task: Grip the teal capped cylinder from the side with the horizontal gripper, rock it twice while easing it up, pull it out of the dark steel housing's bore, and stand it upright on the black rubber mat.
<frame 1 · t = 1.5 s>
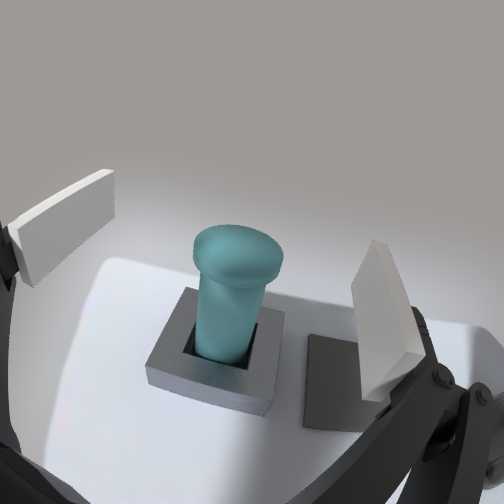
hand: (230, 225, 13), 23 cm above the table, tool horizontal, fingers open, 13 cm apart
teal capped cylinder: (226, 313, 29), in the housing
housing: (218, 357, 33), on the table
mat: (357, 385, 32), on the table
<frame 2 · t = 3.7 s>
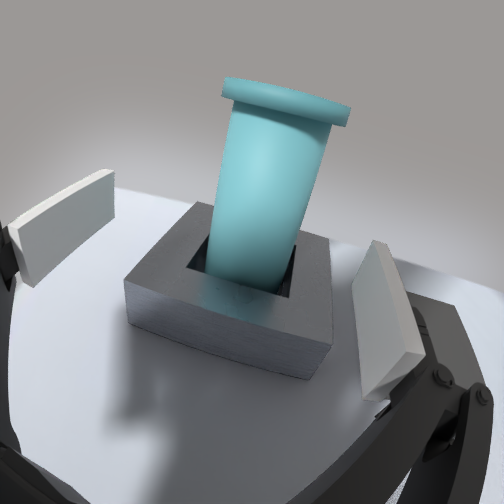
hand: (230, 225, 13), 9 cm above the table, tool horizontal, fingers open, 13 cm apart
teal capped cylinder: (259, 206, 19), in the housing
housing: (238, 294, 24), on the table
mat: (423, 342, 22), on the table
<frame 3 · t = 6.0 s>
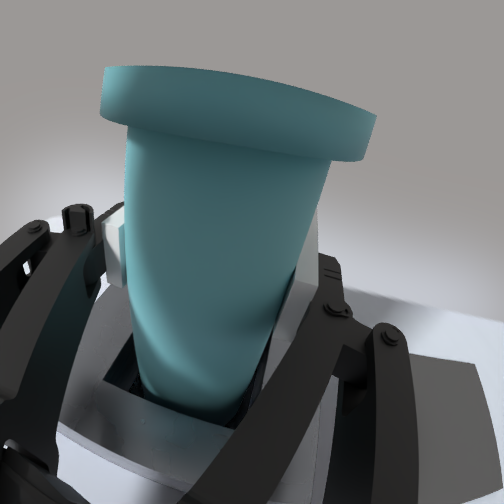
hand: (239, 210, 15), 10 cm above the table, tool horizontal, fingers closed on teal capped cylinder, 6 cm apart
teal capped cylinder: (203, 294, 11), in the housing, touching gripper
housing: (192, 389, 16), on the table
mat: (436, 428, 15), on the table
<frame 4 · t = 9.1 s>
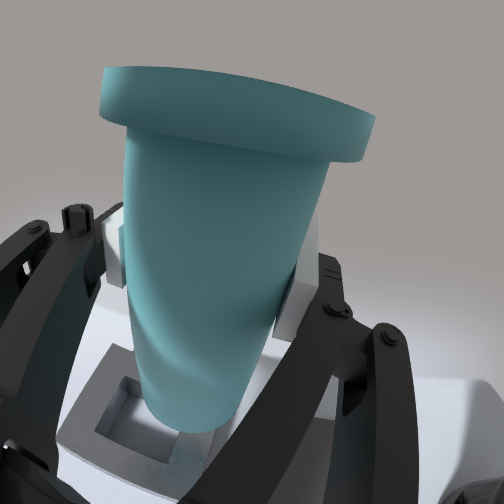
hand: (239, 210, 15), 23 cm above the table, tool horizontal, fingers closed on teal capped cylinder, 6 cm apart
teal capped cylinder: (202, 294, 11), point 22 cm above the table, touching gripper
housing: (146, 431, 23), on the table
mat: (316, 473, 22), on the table
when the fingers open (12 cm above the table, at t = 12.4 s): teal capped cylinder drops 1 cm, resting on mat.
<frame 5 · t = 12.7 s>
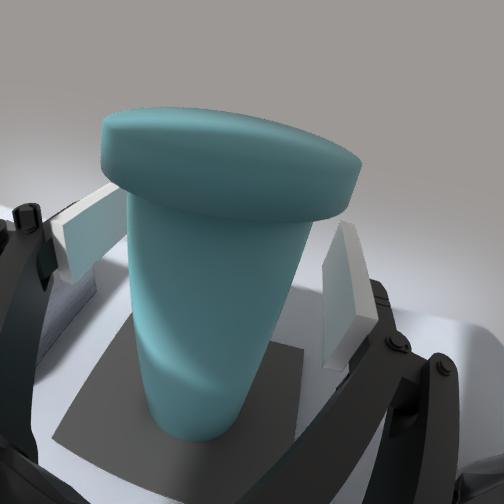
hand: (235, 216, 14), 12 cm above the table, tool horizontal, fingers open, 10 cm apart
teal capped cylinder: (202, 318, 12), on the mat, point 9 cm above the table
housing: (8, 309, 18), on the table
mat: (191, 403, 17), on the table
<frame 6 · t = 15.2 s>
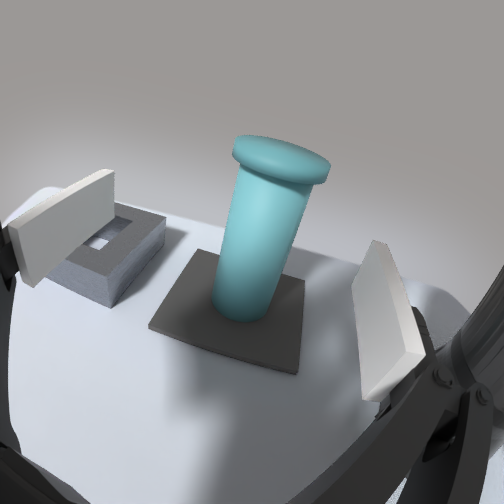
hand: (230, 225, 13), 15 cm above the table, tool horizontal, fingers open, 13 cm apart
teal capped cylinder: (258, 236, 25), on the mat, point 9 cm above the table
housing: (95, 255, 31), on the table
mat: (237, 304, 30), on the table
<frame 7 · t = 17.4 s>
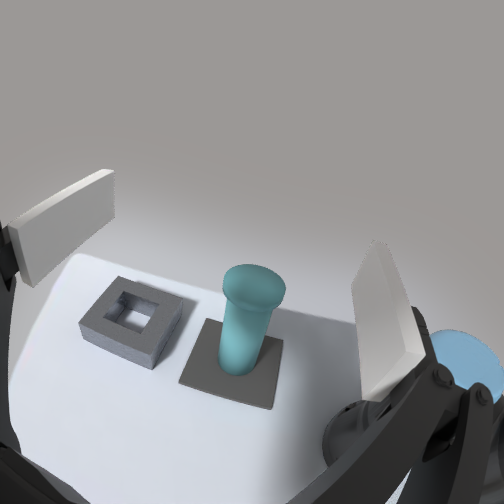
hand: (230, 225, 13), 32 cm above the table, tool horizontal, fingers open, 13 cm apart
teal capped cylinder: (244, 327, 39), on the mat, point 9 cm above the table
housing: (133, 327, 44), on the table
mat: (234, 362, 44), on the table
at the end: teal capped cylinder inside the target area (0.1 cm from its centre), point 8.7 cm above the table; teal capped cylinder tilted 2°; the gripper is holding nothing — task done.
